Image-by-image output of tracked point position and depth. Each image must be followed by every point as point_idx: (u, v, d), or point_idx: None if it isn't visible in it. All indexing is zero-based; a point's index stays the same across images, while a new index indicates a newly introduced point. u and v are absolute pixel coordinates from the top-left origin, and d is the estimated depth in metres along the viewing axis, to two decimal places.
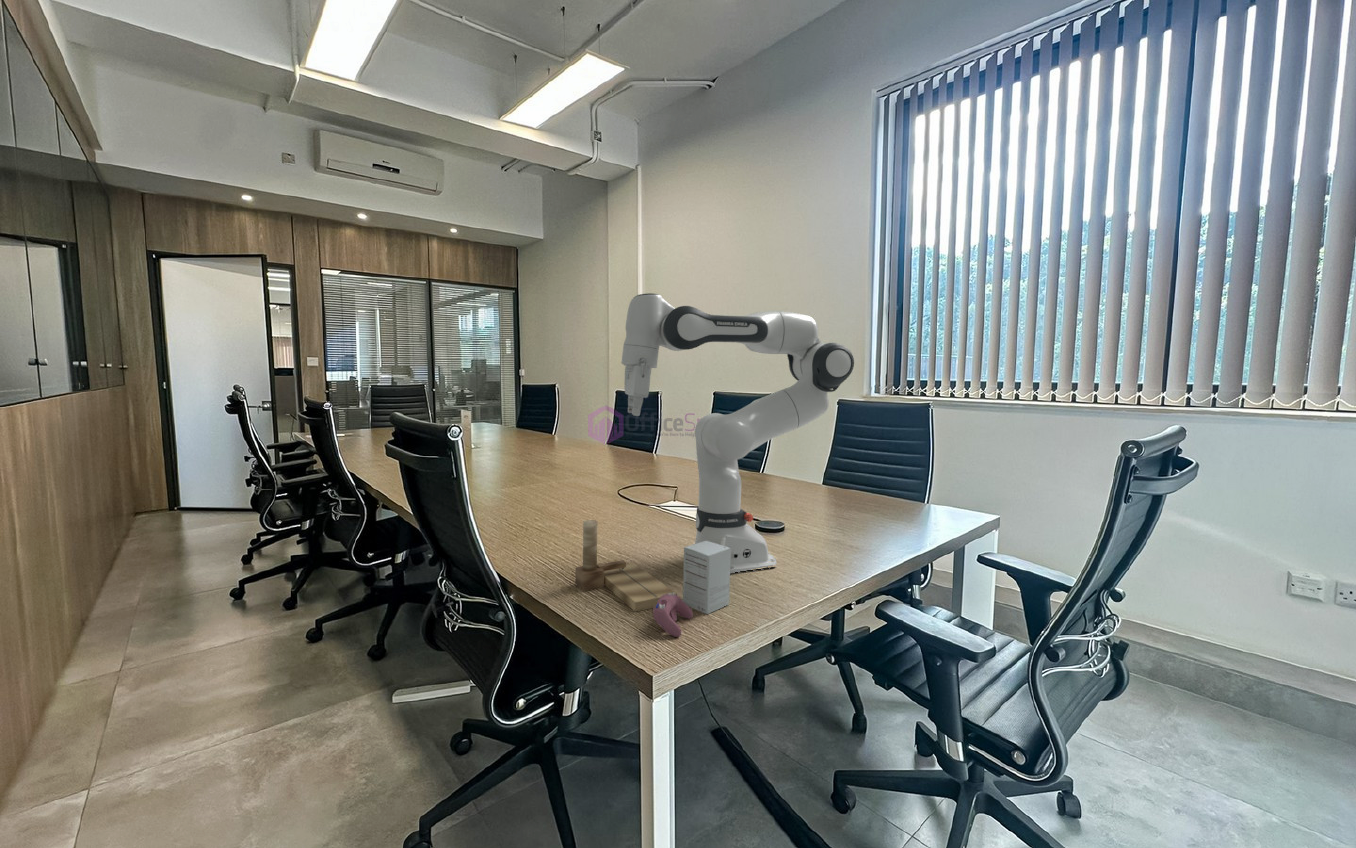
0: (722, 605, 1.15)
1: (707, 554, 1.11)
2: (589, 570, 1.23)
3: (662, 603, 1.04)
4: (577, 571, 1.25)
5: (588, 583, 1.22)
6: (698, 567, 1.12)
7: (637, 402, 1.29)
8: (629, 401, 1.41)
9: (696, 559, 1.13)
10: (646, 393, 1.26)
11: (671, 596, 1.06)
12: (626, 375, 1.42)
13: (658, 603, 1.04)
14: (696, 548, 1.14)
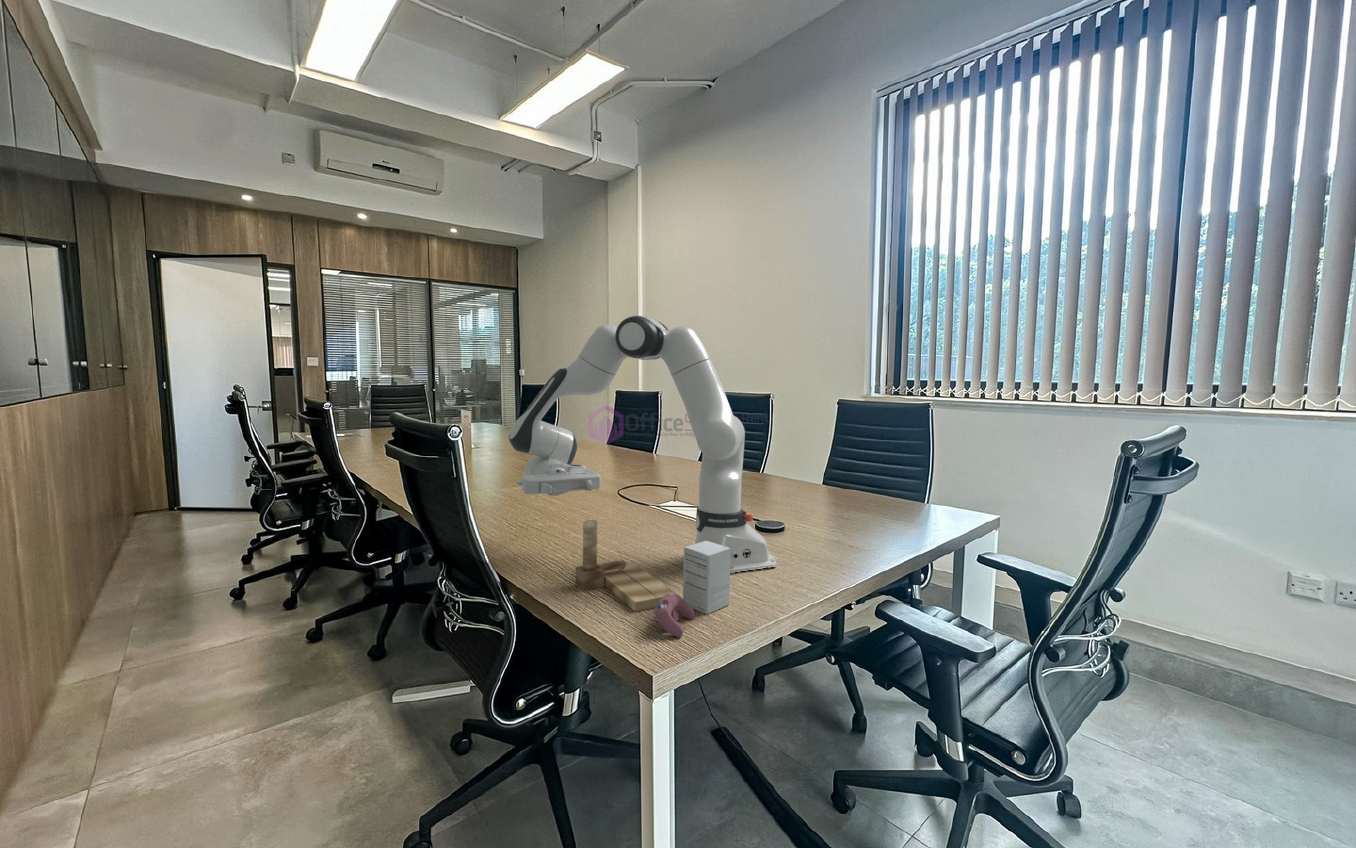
0: (722, 605, 1.15)
1: (707, 554, 1.11)
2: (589, 570, 1.23)
3: (664, 603, 1.04)
4: (577, 571, 1.25)
5: (588, 583, 1.22)
6: (698, 567, 1.12)
7: (542, 488, 1.33)
8: None
9: (696, 559, 1.13)
10: (524, 482, 1.33)
11: (673, 596, 1.06)
12: None
13: (660, 603, 1.04)
14: (696, 548, 1.14)
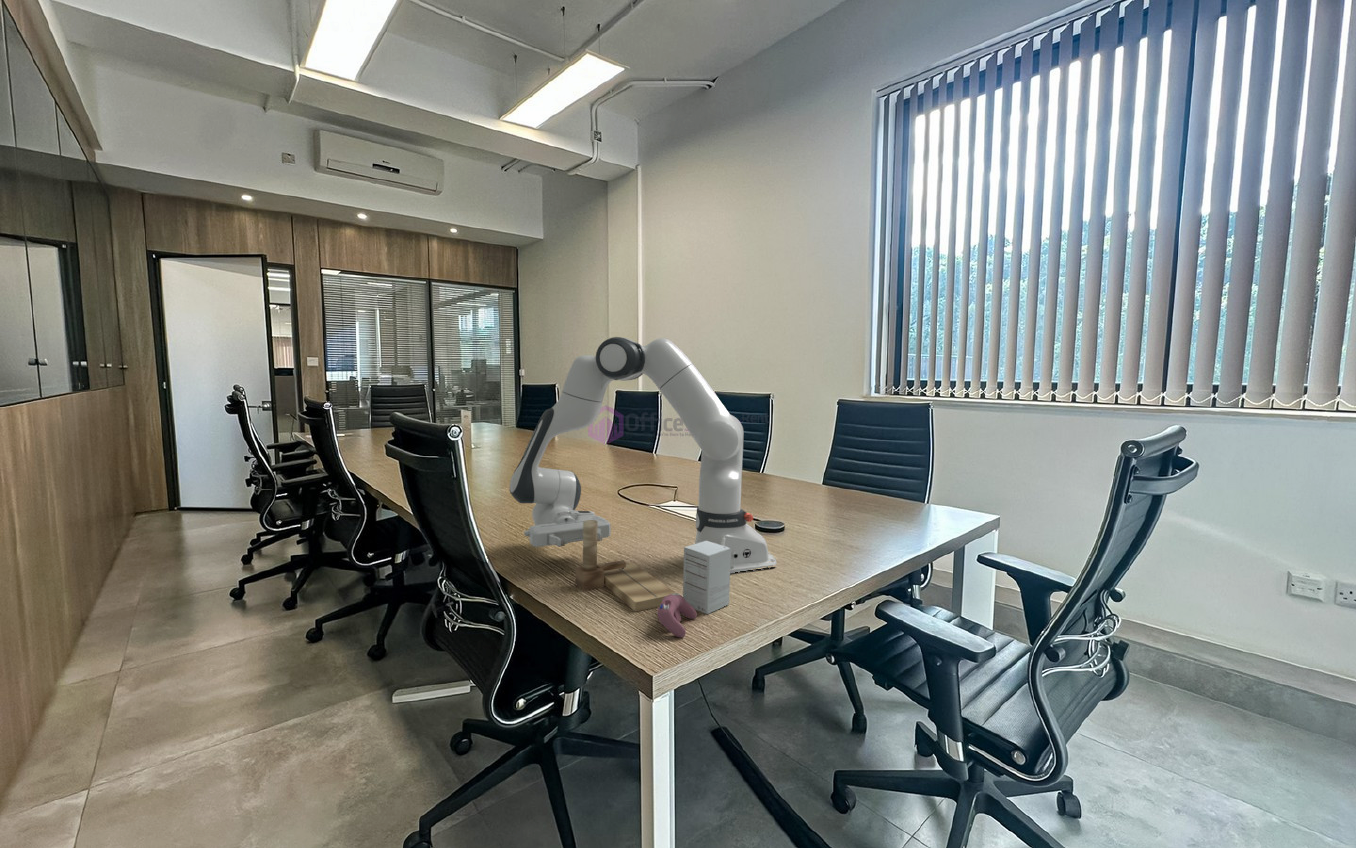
0: (722, 605, 1.15)
1: (707, 554, 1.11)
2: (589, 570, 1.23)
3: (666, 603, 1.04)
4: (577, 571, 1.25)
5: (588, 583, 1.22)
6: (698, 567, 1.12)
7: (550, 541, 1.29)
8: None
9: (696, 559, 1.13)
10: (532, 534, 1.29)
11: (675, 596, 1.06)
12: None
13: (662, 604, 1.04)
14: (696, 548, 1.14)
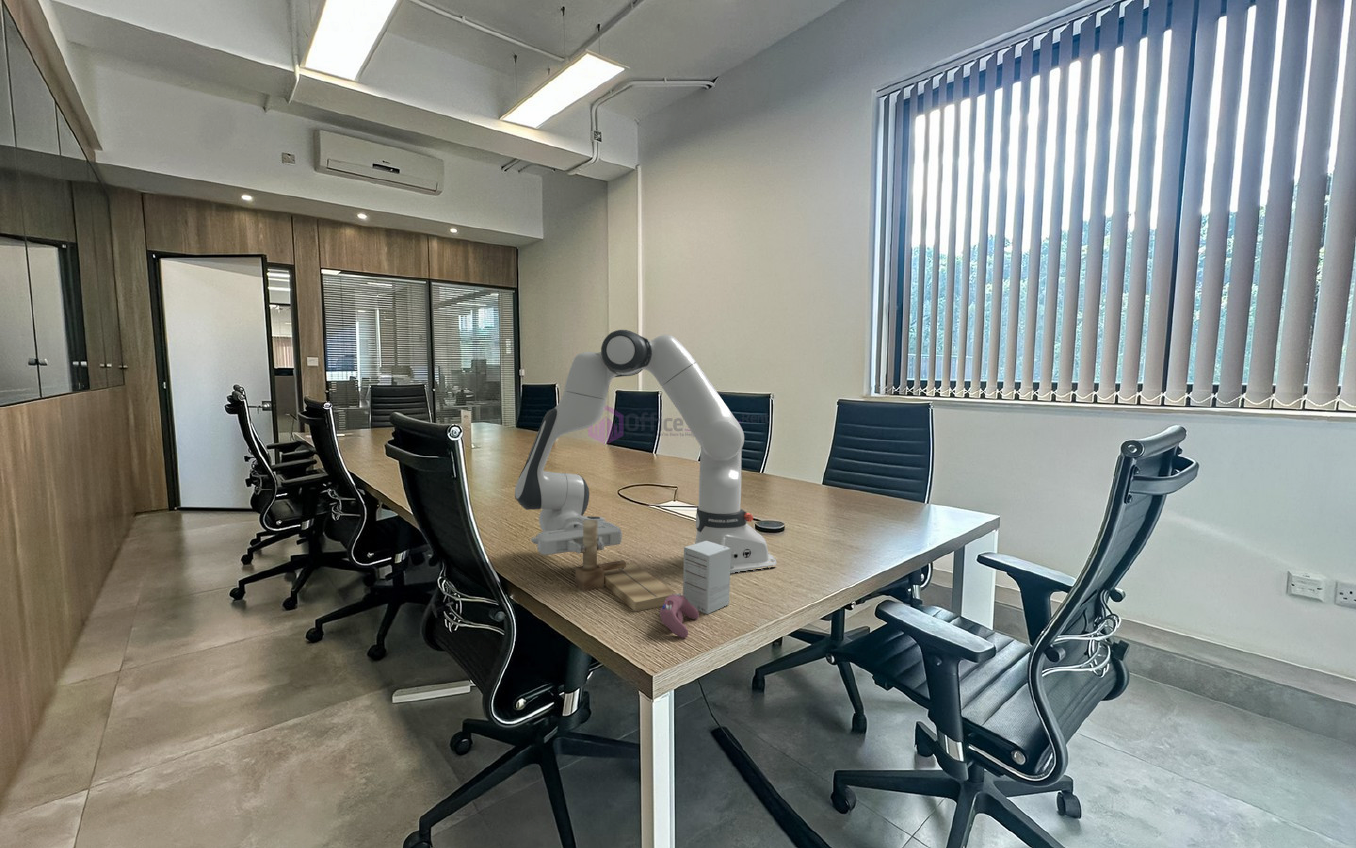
0: (722, 605, 1.15)
1: (707, 554, 1.11)
2: (589, 570, 1.23)
3: (668, 604, 1.04)
4: (577, 571, 1.25)
5: (588, 582, 1.22)
6: (698, 567, 1.12)
7: (569, 547, 1.24)
8: None
9: (696, 559, 1.13)
10: (540, 542, 1.23)
11: (677, 597, 1.06)
12: None
13: (665, 604, 1.04)
14: (696, 548, 1.14)
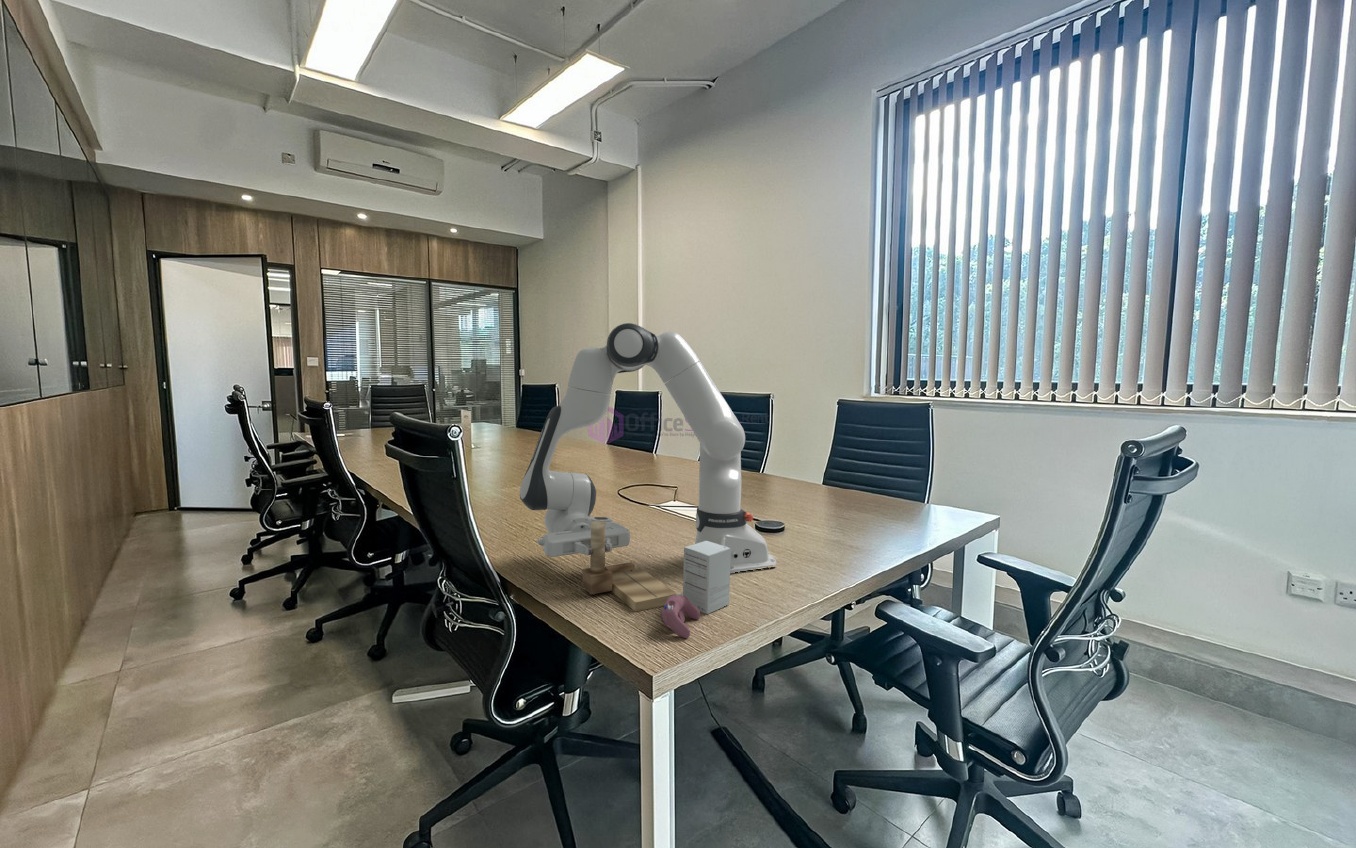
0: (722, 605, 1.15)
1: (707, 554, 1.11)
2: (597, 572, 1.19)
3: (670, 604, 1.04)
4: (584, 573, 1.21)
5: (596, 585, 1.18)
6: (698, 567, 1.12)
7: (577, 549, 1.21)
8: None
9: (696, 559, 1.13)
10: (547, 543, 1.19)
11: (679, 597, 1.06)
12: None
13: (666, 604, 1.04)
14: (696, 548, 1.14)
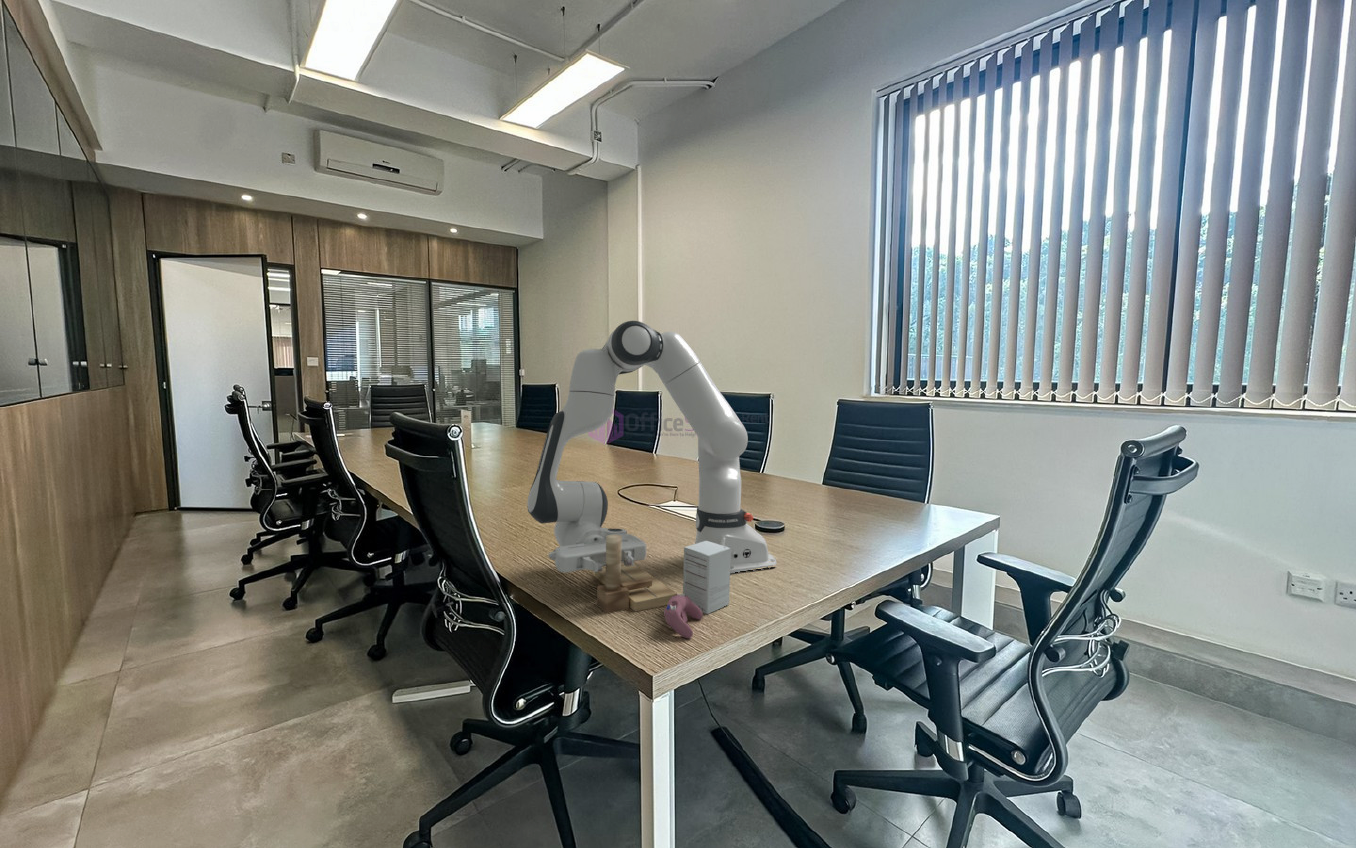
0: (722, 605, 1.15)
1: (707, 554, 1.11)
2: (613, 590, 1.12)
3: (673, 604, 1.04)
4: (599, 591, 1.14)
5: (611, 604, 1.11)
6: (698, 567, 1.12)
7: (585, 565, 1.13)
8: None
9: (696, 559, 1.13)
10: (559, 558, 1.12)
11: (681, 597, 1.06)
12: None
13: (669, 604, 1.04)
14: (696, 548, 1.14)
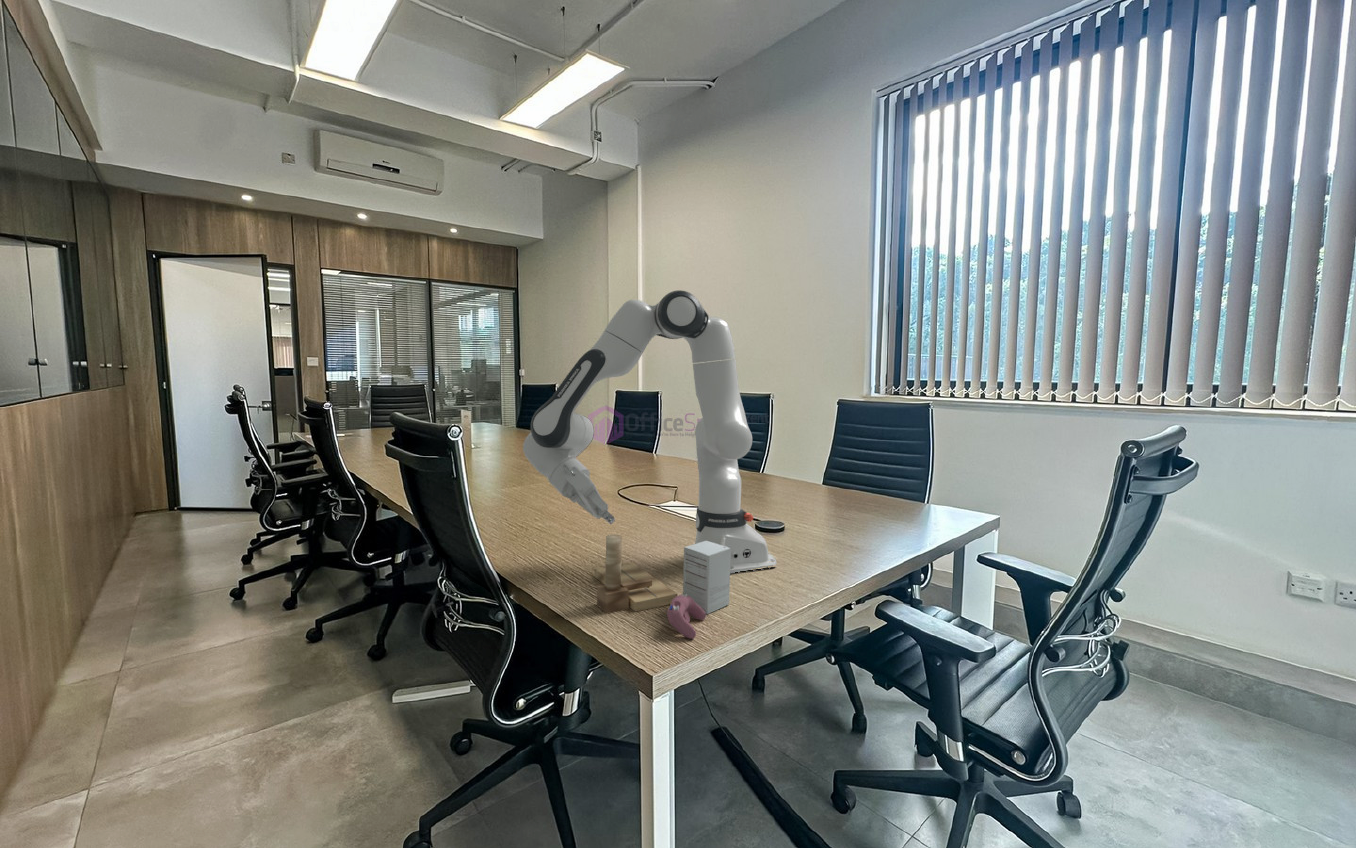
0: (722, 605, 1.15)
1: (707, 554, 1.11)
2: (613, 590, 1.12)
3: (676, 604, 1.04)
4: (599, 591, 1.14)
5: (611, 604, 1.11)
6: (698, 567, 1.12)
7: (594, 498, 1.25)
8: (603, 516, 1.35)
9: (696, 559, 1.13)
10: (588, 481, 1.23)
11: (684, 597, 1.06)
12: (584, 506, 1.39)
13: (672, 605, 1.03)
14: (696, 548, 1.14)
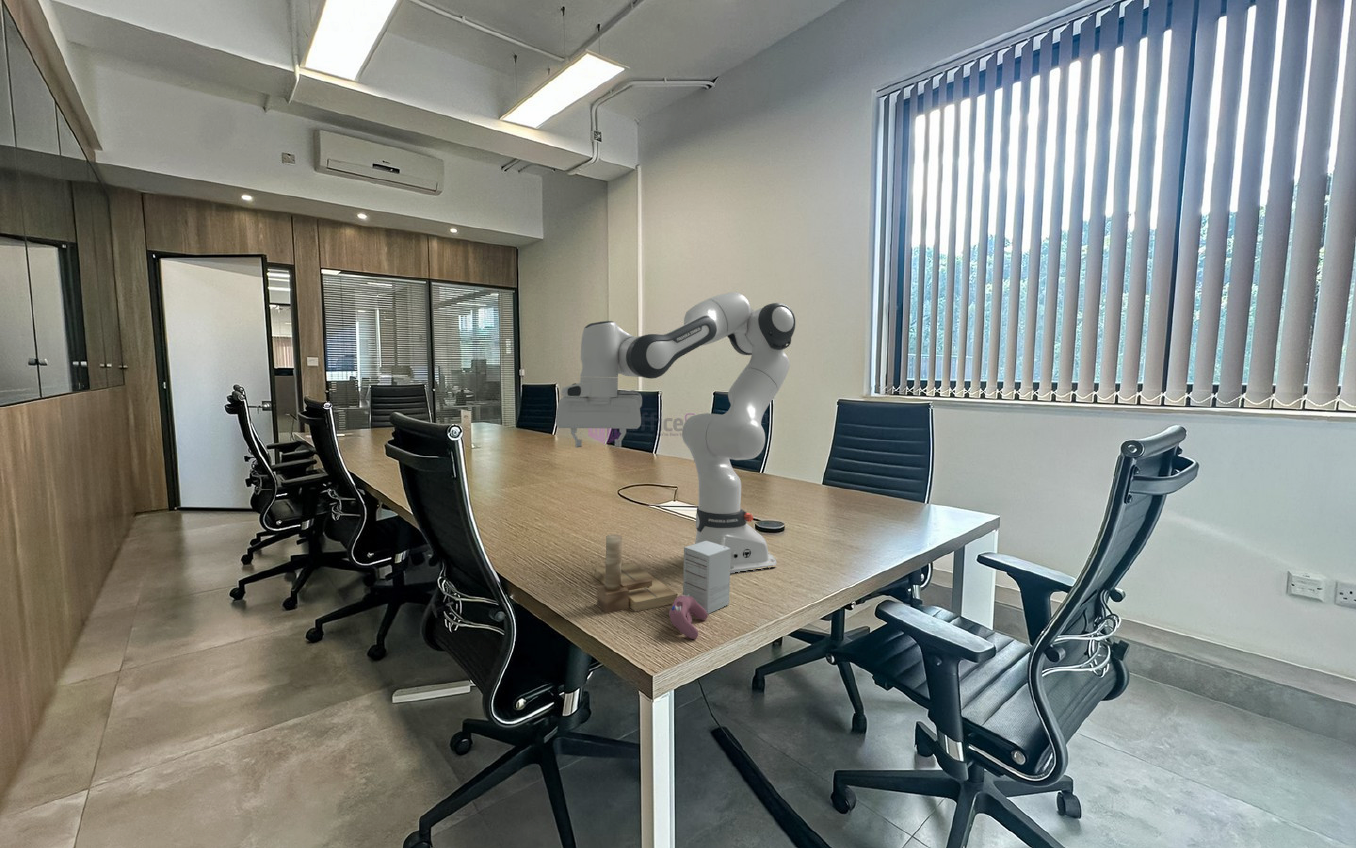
0: (722, 605, 1.15)
1: (707, 554, 1.11)
2: (613, 590, 1.12)
3: (678, 605, 1.04)
4: (599, 591, 1.14)
5: (611, 604, 1.11)
6: (698, 567, 1.12)
7: (625, 433, 1.32)
8: (575, 435, 1.29)
9: (696, 559, 1.13)
10: None
11: (686, 598, 1.06)
12: (565, 407, 1.26)
13: (674, 605, 1.03)
14: (696, 548, 1.14)
